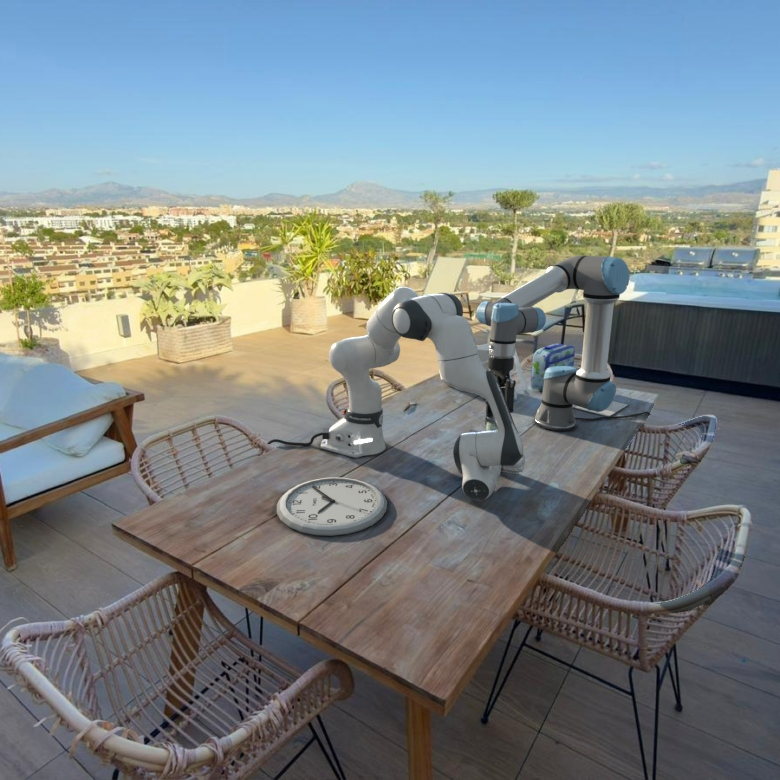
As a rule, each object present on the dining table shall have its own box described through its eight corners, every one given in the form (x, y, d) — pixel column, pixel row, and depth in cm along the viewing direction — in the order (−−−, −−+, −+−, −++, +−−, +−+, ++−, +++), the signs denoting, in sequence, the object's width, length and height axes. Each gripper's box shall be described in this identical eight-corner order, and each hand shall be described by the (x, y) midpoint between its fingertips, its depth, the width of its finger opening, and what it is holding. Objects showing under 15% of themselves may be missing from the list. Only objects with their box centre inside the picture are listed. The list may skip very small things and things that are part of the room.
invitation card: (608, 416, 214) (573, 407, 224) (608, 416, 214) (573, 408, 224) (628, 404, 229) (594, 396, 238) (628, 405, 229) (594, 397, 238)
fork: (400, 412, 215) (400, 407, 215) (412, 400, 229) (412, 396, 229) (406, 412, 214) (406, 408, 214) (418, 401, 229) (418, 397, 228)
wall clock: (392, 527, 129) (268, 531, 127) (391, 533, 130) (269, 537, 127) (383, 473, 158) (282, 475, 155) (383, 478, 158) (282, 480, 156)
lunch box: (547, 395, 239) (552, 351, 233) (526, 390, 247) (530, 347, 240) (574, 384, 257) (579, 343, 251) (554, 380, 264) (558, 339, 258)
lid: (511, 421, 161) (512, 416, 161) (497, 426, 157) (497, 421, 157) (494, 415, 166) (495, 410, 166) (480, 419, 162) (481, 414, 162)
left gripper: (523, 462, 149) (528, 444, 161) (453, 451, 155) (463, 435, 168) (521, 482, 151) (526, 463, 163) (452, 470, 157) (462, 453, 170)
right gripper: (474, 349, 163) (469, 418, 170) (508, 364, 146) (501, 441, 152) (495, 348, 165) (489, 416, 172) (531, 362, 148) (523, 438, 155)
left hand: (494, 448), depth 165 cm, fingers closed on jar, 5 cm apart
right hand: (495, 427), depth 162 cm, fingers closed on lid, 6 cm apart
